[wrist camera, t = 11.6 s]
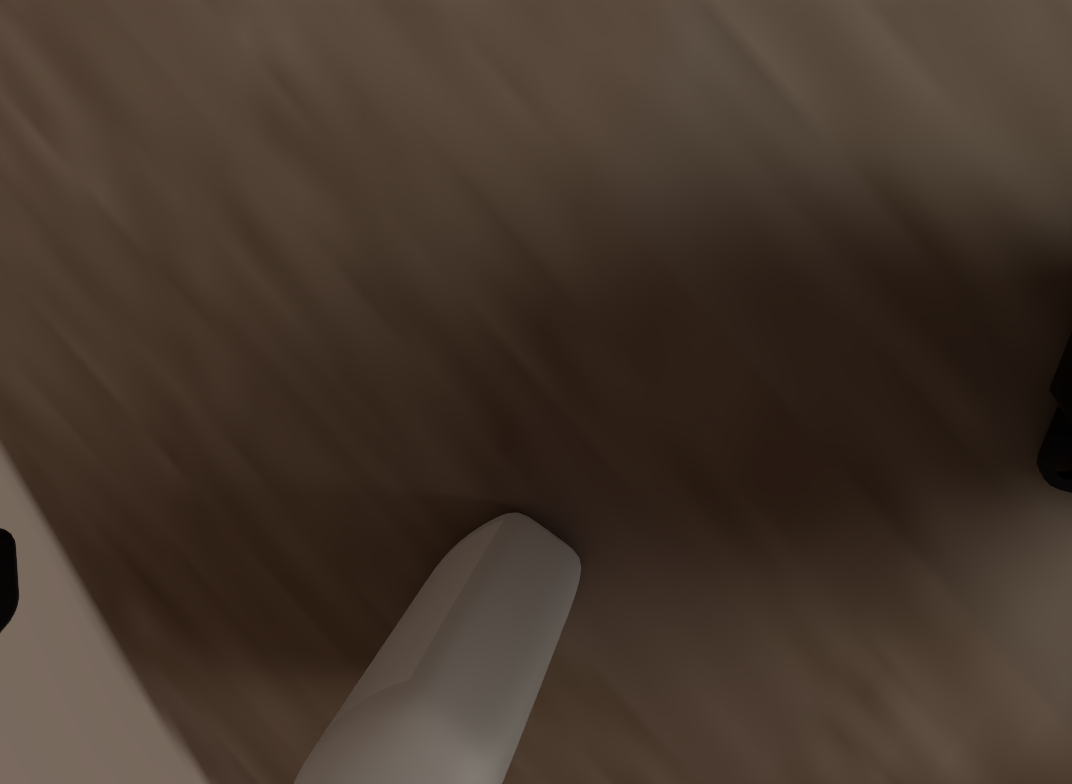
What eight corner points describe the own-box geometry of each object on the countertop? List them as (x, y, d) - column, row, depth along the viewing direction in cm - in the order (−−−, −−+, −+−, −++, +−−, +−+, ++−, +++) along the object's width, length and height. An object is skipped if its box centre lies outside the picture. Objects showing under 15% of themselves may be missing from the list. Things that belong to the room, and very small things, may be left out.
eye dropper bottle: (367, 558, 25) (34, 965, 14) (553, 490, 23) (334, 905, 12) (444, 692, 26) (189, 1174, 15) (630, 639, 24) (492, 1152, 13)
